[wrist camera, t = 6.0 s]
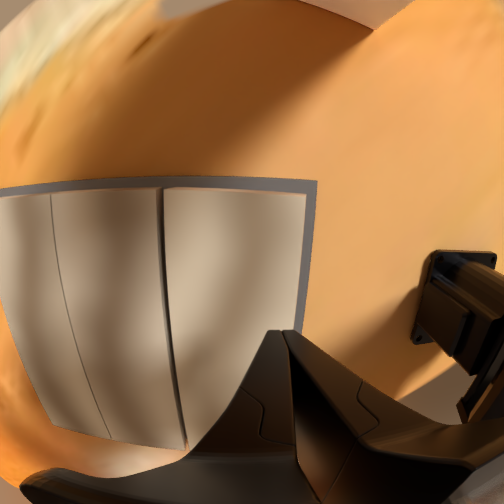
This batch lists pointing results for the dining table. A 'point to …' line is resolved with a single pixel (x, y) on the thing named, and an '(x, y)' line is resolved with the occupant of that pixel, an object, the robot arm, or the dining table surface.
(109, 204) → the laid planks
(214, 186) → the underlay mat
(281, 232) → the loose plank
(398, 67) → the dining table surface
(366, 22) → the milk
